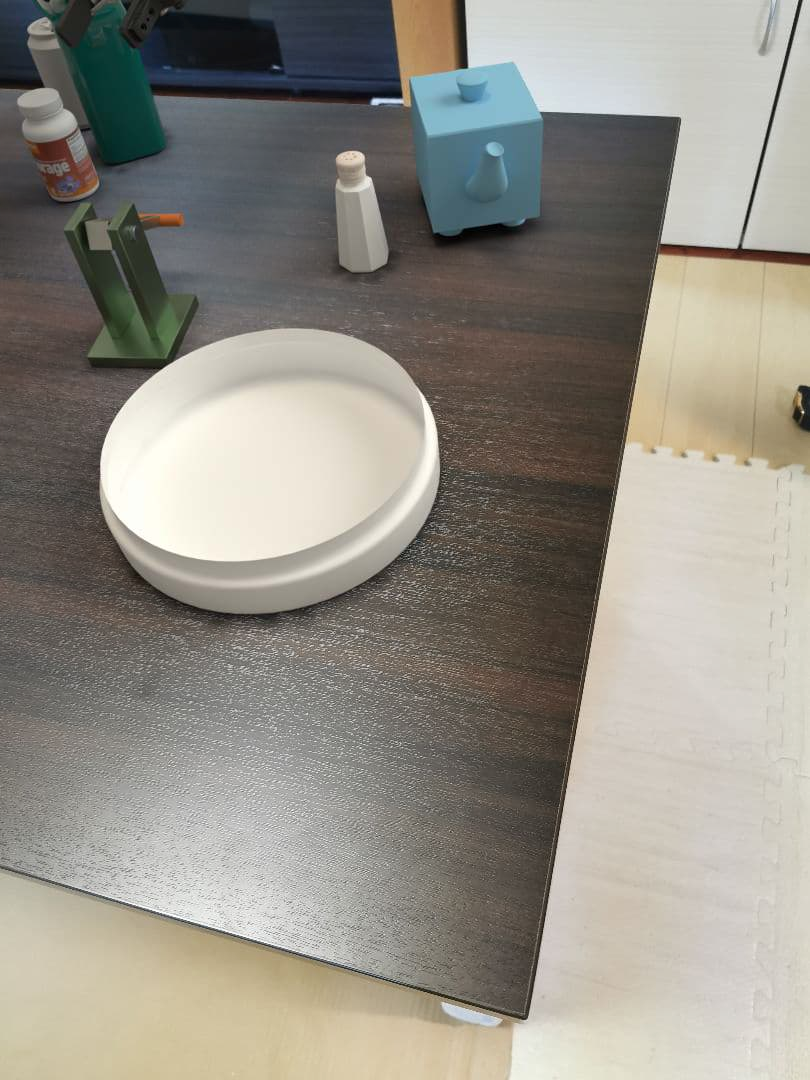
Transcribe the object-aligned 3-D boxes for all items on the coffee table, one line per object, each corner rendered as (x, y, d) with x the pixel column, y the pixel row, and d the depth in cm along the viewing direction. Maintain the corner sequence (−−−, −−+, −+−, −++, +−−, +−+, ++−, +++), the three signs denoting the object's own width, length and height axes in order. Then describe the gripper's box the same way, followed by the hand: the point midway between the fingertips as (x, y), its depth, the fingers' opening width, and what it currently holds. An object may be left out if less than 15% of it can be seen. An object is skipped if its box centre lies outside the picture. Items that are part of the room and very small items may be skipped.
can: (96, 134, 112) (59, 36, 102) (49, 130, 114) (9, 33, 104) (125, 107, 116) (92, 11, 107) (79, 104, 118) (43, 9, 109)
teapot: (414, 173, 98) (403, 45, 87) (508, 158, 98) (509, 29, 87) (443, 281, 84) (435, 146, 73) (553, 264, 84) (560, 127, 74)
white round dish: (63, 603, 63) (32, 560, 59) (172, 367, 80) (153, 320, 75) (418, 628, 59) (411, 583, 55) (455, 373, 75) (453, 323, 71)
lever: (138, 232, 86) (134, 207, 85) (184, 231, 85) (181, 206, 84) (74, 250, 74) (69, 221, 73) (127, 250, 74) (122, 221, 73)
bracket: (125, 303, 87) (77, 186, 77) (199, 303, 86) (159, 184, 76) (91, 366, 81) (33, 248, 71) (169, 368, 80) (122, 248, 70)
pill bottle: (40, 201, 102) (-2, 108, 93) (67, 175, 105) (29, 83, 97) (84, 205, 100) (45, 111, 92) (110, 179, 104) (74, 85, 95)
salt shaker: (396, 266, 87) (385, 162, 78) (346, 279, 86) (329, 176, 77) (381, 239, 90) (369, 137, 81) (333, 251, 89) (315, 150, 81)
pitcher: (157, 124, 112) (95, -72, 95) (171, 151, 107) (108, -51, 90) (85, 144, 110) (8, -52, 93) (95, 172, 105) (17, -30, 88)
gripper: (92, -141, 77) (12, 6, 75) (204, -157, 70) (121, 4, 68) (146, -66, 83) (74, 72, 81) (253, -74, 77) (179, 75, 75)
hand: (96, 40), depth 75 cm, fingers open, 8 cm apart
